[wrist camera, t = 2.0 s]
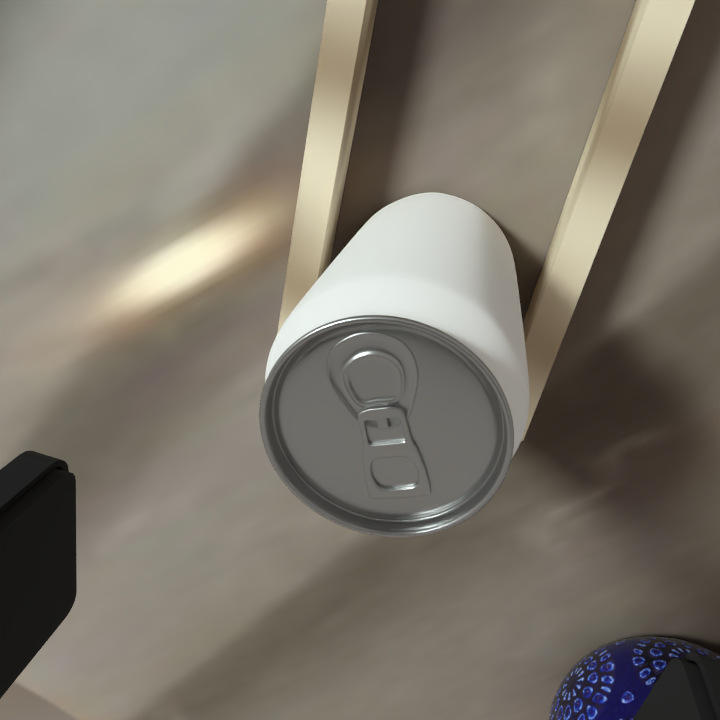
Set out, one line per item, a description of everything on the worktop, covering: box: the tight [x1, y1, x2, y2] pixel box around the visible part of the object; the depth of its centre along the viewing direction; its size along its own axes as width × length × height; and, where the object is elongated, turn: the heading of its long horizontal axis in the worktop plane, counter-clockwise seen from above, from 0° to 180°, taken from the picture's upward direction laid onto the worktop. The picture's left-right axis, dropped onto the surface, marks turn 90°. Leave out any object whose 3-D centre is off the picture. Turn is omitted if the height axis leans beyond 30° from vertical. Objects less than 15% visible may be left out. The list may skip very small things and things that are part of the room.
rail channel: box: [277, 0, 695, 441], centre depth 18 cm, size 24×10×5 cm, turn 169°
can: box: [259, 193, 529, 538], centre depth 19 cm, size 6×6×12 cm
